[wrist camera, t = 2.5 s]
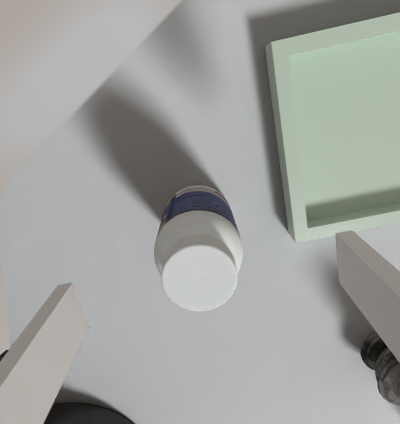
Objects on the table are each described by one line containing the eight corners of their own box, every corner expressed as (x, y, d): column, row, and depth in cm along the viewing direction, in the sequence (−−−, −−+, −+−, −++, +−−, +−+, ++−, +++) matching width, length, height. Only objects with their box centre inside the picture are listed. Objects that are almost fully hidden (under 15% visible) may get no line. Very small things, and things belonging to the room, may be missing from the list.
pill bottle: (157, 189, 25) (135, 241, 16) (225, 177, 25) (243, 223, 15) (171, 251, 27) (159, 330, 17) (235, 240, 26) (256, 315, 17)
